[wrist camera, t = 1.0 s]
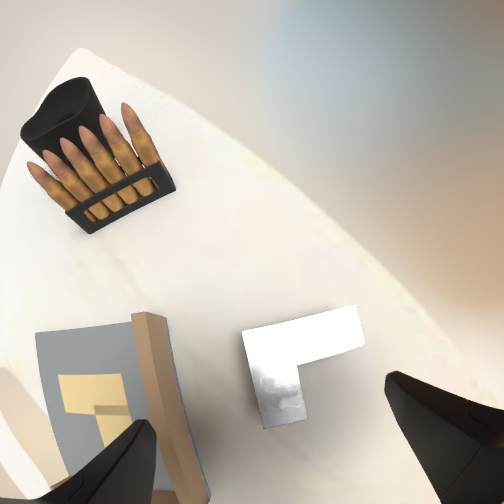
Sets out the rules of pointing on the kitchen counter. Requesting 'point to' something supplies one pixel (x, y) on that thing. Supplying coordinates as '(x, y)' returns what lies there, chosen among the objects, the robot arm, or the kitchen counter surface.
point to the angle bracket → (295, 358)
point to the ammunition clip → (105, 174)
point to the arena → (120, 399)
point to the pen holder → (65, 120)
